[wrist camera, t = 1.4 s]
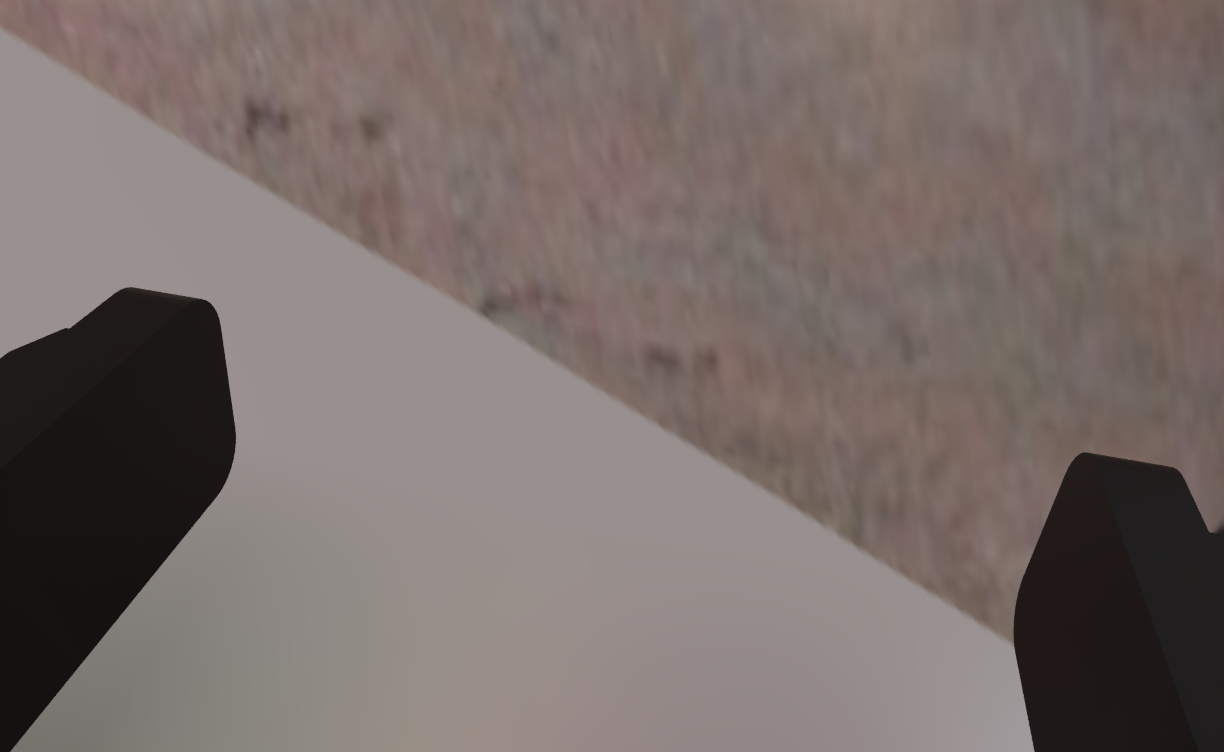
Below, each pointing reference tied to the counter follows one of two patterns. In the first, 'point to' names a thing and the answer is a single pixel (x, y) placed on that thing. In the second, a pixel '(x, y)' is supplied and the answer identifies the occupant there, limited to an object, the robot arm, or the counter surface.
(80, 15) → the counter surface
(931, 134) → the counter surface
